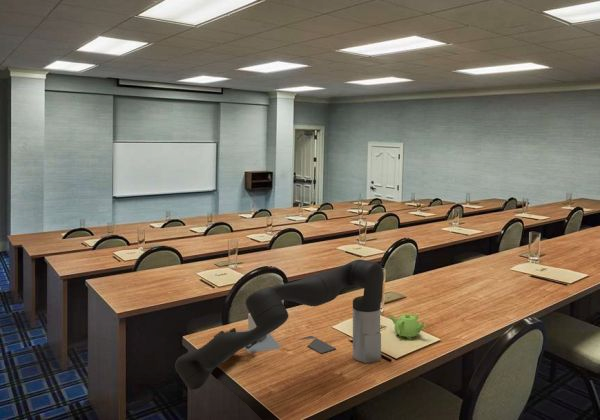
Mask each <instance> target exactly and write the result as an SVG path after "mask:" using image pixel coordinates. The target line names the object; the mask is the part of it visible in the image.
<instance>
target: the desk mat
mask: <svg viewBox="0 0 600 420" xmlns="http://www.w3.org/2000/svg"><path fill="white" fill-rule="evenodd" d="M246 331H249V329H245V330H244V329H243V330H238V331H237V330H236V332H246ZM244 349H245V350H246V351H247V353H248V354H251V353H258V352H264V351H271V350H277V349H282V347H281V345H280V344H279V343H278V342H277V340H276V339H275V338H274V336H273V335H272V334H271V333H269V334H267V337H266V338H265V339H264V340H263V341H262V342H257V343H256V344H255V345H253V346H252V347H251V348H249V349H247V348H246V347H244Z"/></svg>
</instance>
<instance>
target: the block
mask: <svg viewBox="0 0 600 420" xmlns="http://www.w3.org/2000/svg"><path fill="white" fill-rule="evenodd" d="M247 318H248V319H247V321H248V330H249V331H250V330H252V329H254V328H256V324H255V322H254V320H253V318H252V316H251V315H250V313H249V312H248V314H247ZM266 337H267V335H265V336H264V337H262V338H260V339H259V340H257V342H262V341H263V340H264V339H265V338H266Z"/></svg>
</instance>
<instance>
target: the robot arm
mask: <svg viewBox="0 0 600 420" xmlns="http://www.w3.org/2000/svg"><path fill="white" fill-rule="evenodd" d="M350 287H356V288H362V289H363V295H361V296H359V295H358V296H357V297H354V298H353V299H352V358H353V359H354V360H355V361H357V362H362V363H363V364H369V363H374V362H380V361H382V333H381V303H382V300H383V294H384V293H383V292H384V291H383V290H384V269H383V267H382V265H381V264H380V263H379V262H376V261H372V260H367V259H355V260H352V261H350V262H348V263H346V264H344V265H341V266H339V267H337V268H333V269H329V270H326V271H324V272H319V273H316V274H312V275H309V276H307V277H304V278H301V279H298V280H295V281H291V282H287V283H282V284H276V285H271V286H267V287H263V288H261V289H258V290H256V291H254V292H252V293H250V295H248V296H247V298H246V300H245V306H246V309H247V311H248V314H249V313H250V315H251V316H252V318H253V320H254V322H255V324H256V328H254V329H252V330H250V331H246V332H236V331H237V330H236V329H237V328H235V327H233V328H231V329H230V330H226V331H224V330H221V331H219V332H218V333H216V334H215V335H214V336H213V338H212V339H210V340H209V341H208V342H207V343H206V344H205V345H203V346H201V347H200V348H197V349H195V350H193V351H189V352H186V353H184V354H182V355H180V356H179V357H178V358H177V359H176V361H175V364H174V369H175V371H176V373H177V374H178V375H179V377H180V378H181V380H182V381H183V383H184V384H185V386H186V387H187V389H189V390H192V391H193V390H198V389H200V388H201V387H203V386H204V384H206V382H207V381H208V380H209V378H210V376H211V374H212V372H213V371H214V369H216V368H217V367H218V366H220V365H221V364H223V363H225V362H226V361H227V360H229V359H230V358H231V357H233V356H234V355H235V354H236V353H237V352H239V351H241V350H243V349H245V347H246V348H247V349H249V348H251V347H252V346H253V345H255V344H256V343H257V340H259V339H260V338H262V337H264V336H265V335H267V334H269V333H270V334H271V333H272V332H274V331H275V330H277V329H278V328H280V327H281V326H282V325H284V324H285V323H286V321H287V320H288V319H289V312H288V310H287V309H286V306H285V305H284V303H283V301H290V302H293V303H297V304H299V305H300V304H301V305H304V306H308V307H319V306H322V305H324V304H327V303H330V302H332V301H334V300H335V299H336V298H337V297H338V296H339V294H340V292H341V290H343V289H345V288H350Z"/></svg>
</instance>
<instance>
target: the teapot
mask: <svg viewBox="0 0 600 420" xmlns="http://www.w3.org/2000/svg"><path fill="white" fill-rule="evenodd" d="M389 318H390V320H391V321H392V322H393V324H394V328H393V329H394V332H395V333H396V334H397V336H398V335H399V336H402V337H405V338H406V339H407V338H408V339H407V340H412V339H411V338H413V337H418V335H419V334H420V333H421V330H422V329H423V328H424V327H425V326H426V325H427V324H426V323H425V322H424V321H422V322H421V323H419V321H418V319H419V315H418V314H416V313H415V314H414V315H411V314H410V313H404V314H403V315H400V316H399V317H398V318H397V319H396V317H395V315H394V314H392V315H390V316H389Z"/></svg>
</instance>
